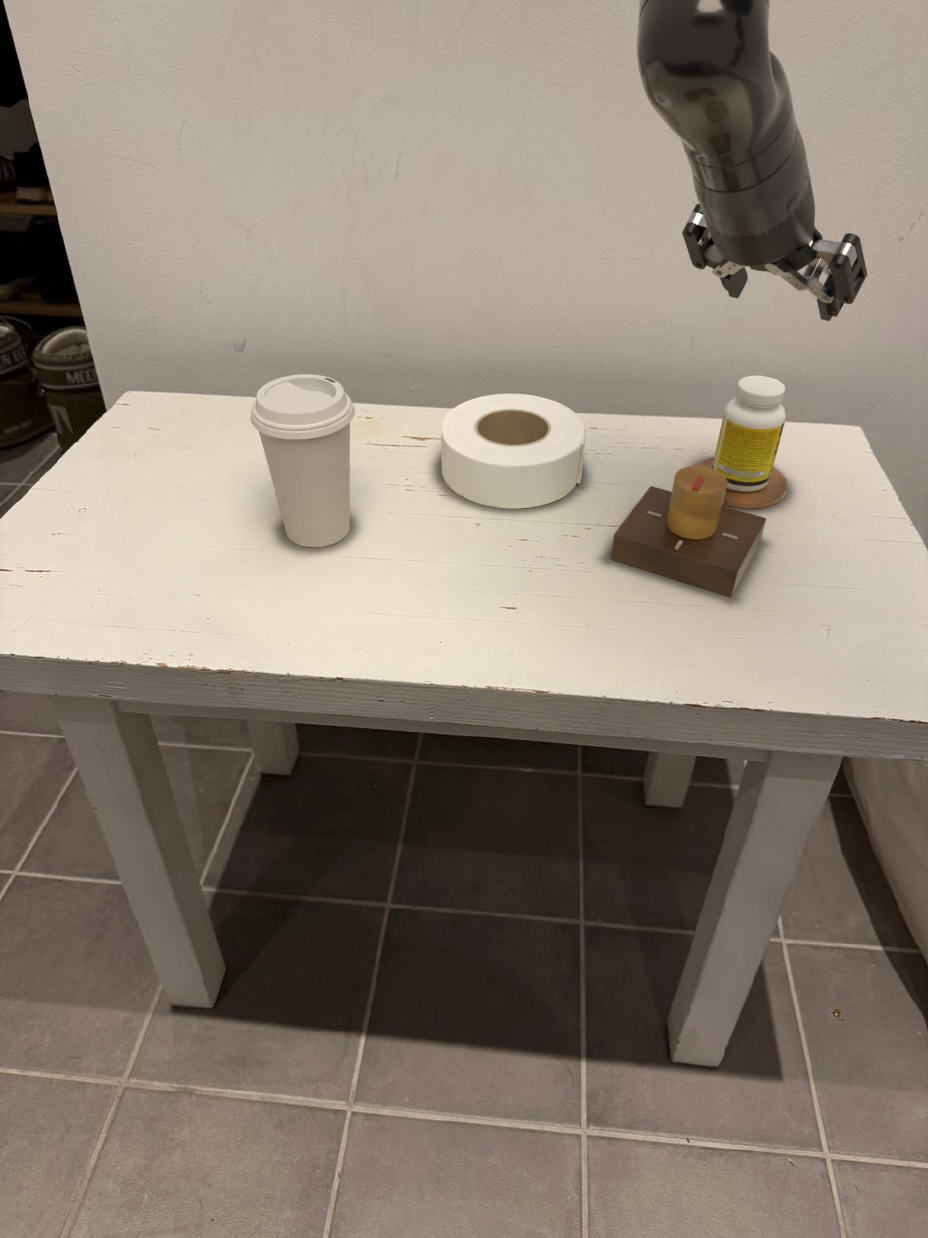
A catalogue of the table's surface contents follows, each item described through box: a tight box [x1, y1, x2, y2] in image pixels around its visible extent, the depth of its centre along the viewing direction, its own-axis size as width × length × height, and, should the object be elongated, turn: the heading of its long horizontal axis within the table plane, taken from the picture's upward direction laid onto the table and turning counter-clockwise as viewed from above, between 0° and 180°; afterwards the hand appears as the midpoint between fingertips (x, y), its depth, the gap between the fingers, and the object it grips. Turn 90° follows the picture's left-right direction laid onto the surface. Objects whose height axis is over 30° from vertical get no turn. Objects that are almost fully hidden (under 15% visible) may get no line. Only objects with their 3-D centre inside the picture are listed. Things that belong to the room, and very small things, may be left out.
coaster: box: [697, 456, 788, 509], centre depth 95 cm, size 10×10×1 cm
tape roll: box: [440, 393, 586, 510], centre depth 96 cm, size 16×16×6 cm
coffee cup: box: [250, 373, 356, 548], centre depth 84 cm, size 10×10×15 cm
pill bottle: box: [712, 375, 787, 492], centre depth 91 cm, size 6×6×11 cm
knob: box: [666, 465, 727, 539], centre depth 82 cm, size 5×5×6 cm
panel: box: [610, 485, 767, 598], centre depth 85 cm, size 12×10×3 cm
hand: (783, 299), depth 77 cm, fingers open, 8 cm apart
